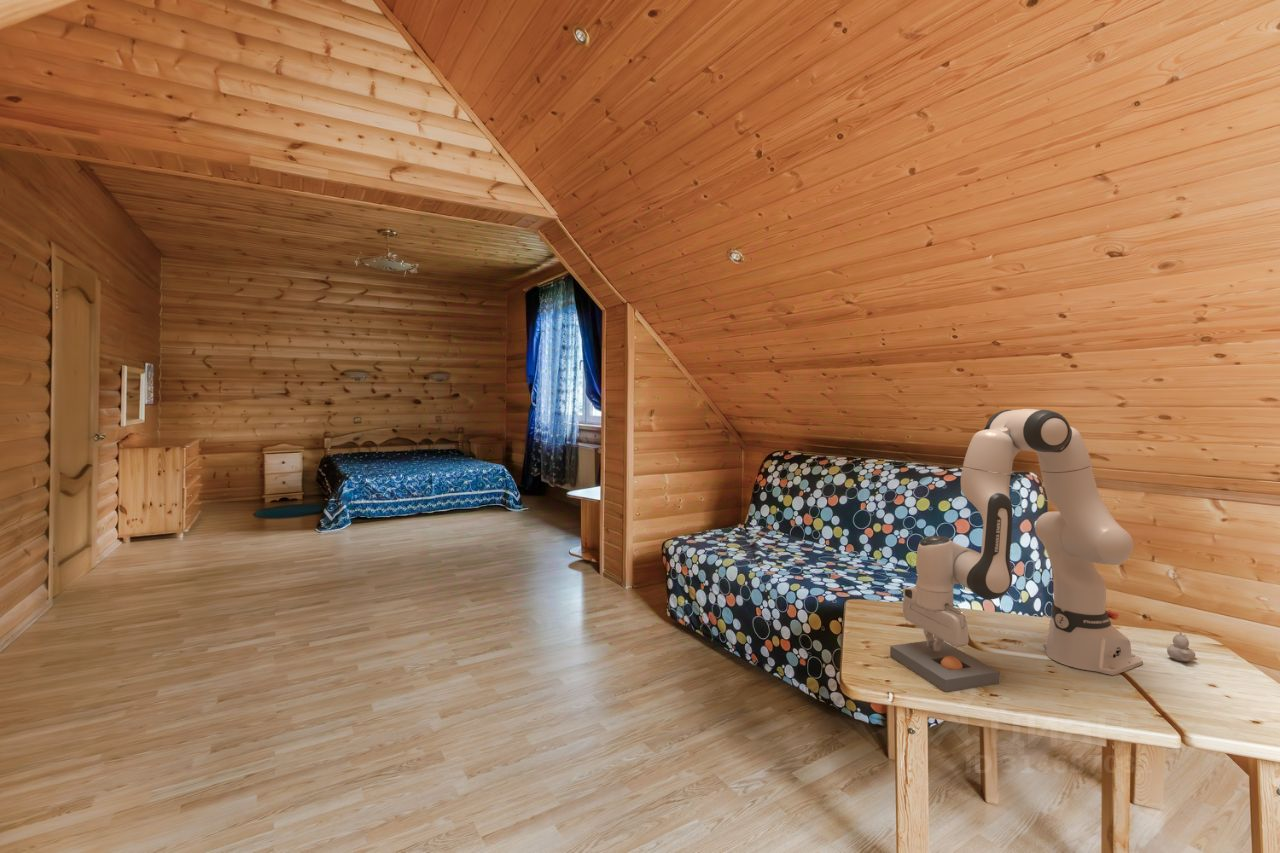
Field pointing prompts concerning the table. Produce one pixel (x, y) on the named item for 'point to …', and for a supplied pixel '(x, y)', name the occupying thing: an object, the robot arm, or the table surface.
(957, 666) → the ball
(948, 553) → the robot arm
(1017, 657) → the table surface
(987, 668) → the pocket board
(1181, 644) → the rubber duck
